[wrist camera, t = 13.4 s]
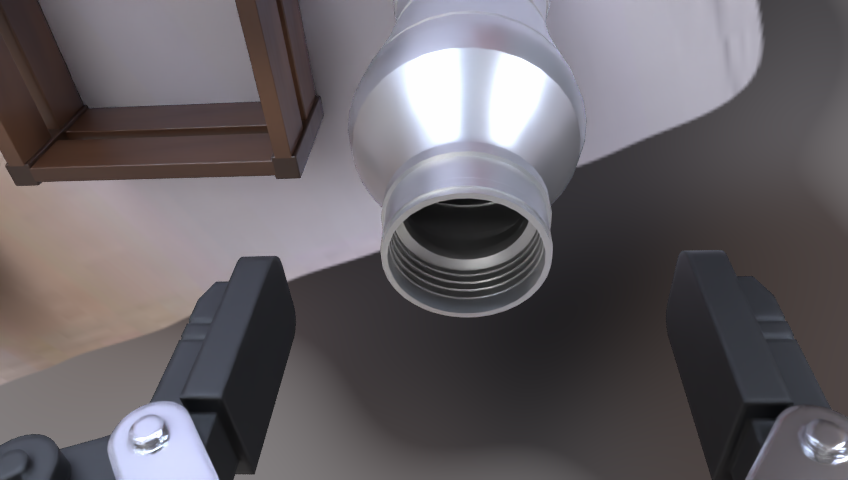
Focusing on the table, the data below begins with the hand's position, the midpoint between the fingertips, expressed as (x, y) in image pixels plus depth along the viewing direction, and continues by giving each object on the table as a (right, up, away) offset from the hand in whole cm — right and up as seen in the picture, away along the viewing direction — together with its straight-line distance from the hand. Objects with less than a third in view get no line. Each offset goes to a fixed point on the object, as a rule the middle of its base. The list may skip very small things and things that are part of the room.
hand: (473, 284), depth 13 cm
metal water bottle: (+1, +13, +16) cm, 21 cm away
